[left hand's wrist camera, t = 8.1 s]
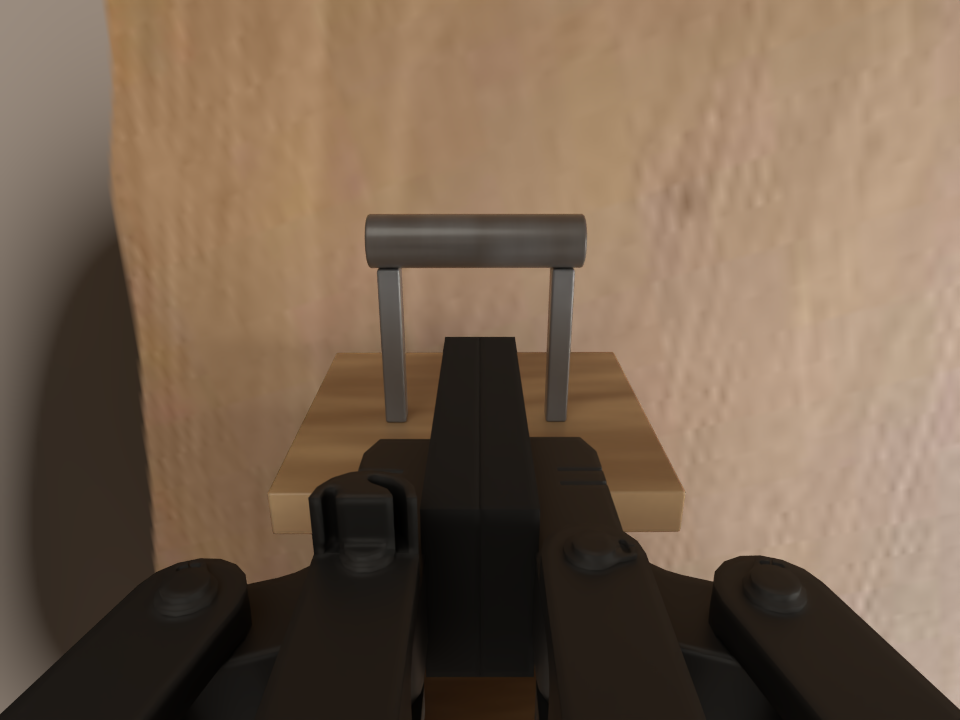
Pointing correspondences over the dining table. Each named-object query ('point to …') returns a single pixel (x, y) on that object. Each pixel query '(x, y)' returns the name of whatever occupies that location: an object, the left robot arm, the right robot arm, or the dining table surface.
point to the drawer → (413, 389)
